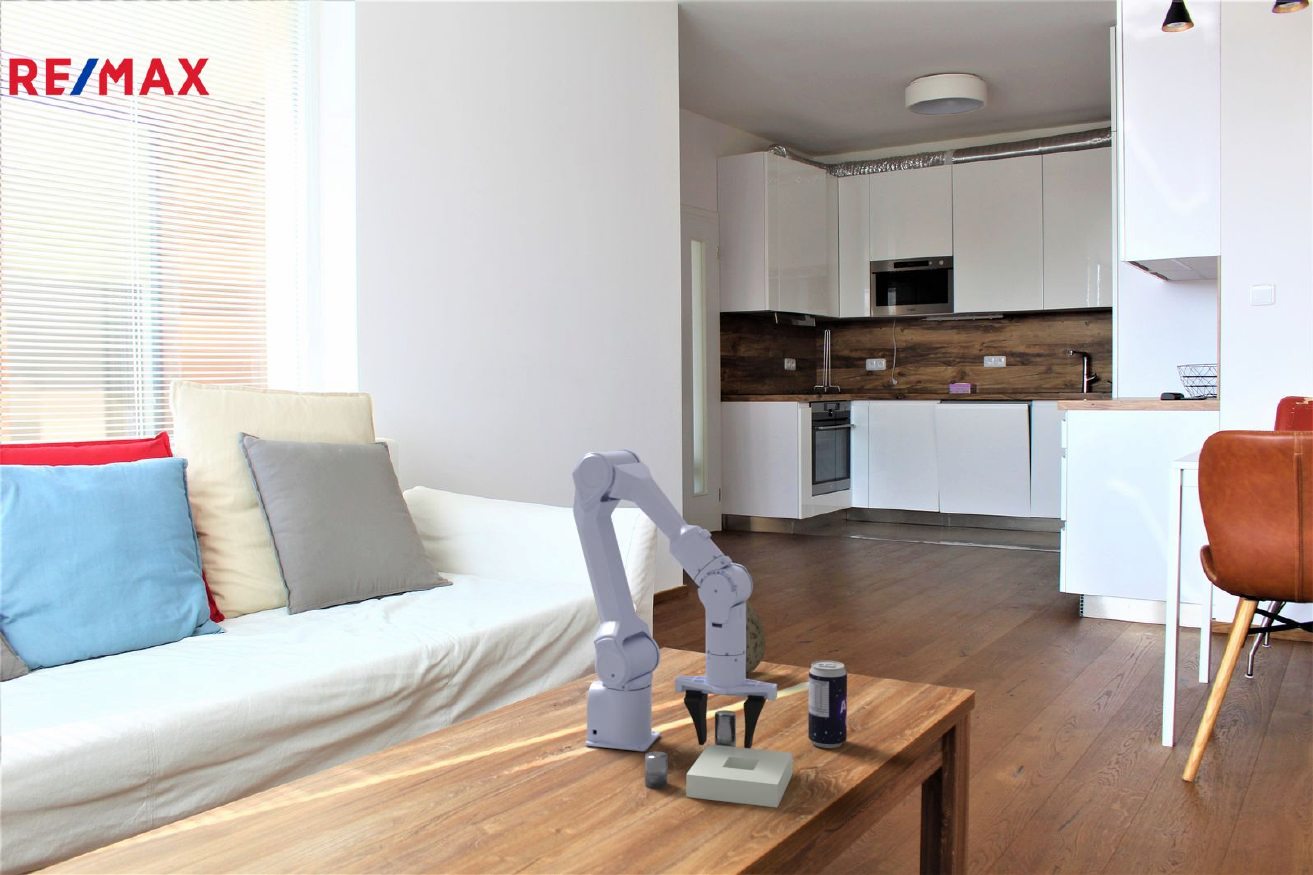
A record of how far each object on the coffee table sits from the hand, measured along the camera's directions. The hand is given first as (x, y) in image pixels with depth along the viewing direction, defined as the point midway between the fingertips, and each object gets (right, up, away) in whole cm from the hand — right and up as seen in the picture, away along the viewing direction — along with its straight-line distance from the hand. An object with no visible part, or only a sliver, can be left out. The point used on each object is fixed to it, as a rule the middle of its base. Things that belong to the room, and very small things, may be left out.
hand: (725, 745), depth 147 cm
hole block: (+2, -3, -9) cm, 9 cm away
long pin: (0, -2, 0) cm, 2 cm away
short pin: (-10, -3, -8) cm, 13 cm away
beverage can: (+16, -2, +8) cm, 18 cm away
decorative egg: (+5, -1, +45) cm, 45 cm away
